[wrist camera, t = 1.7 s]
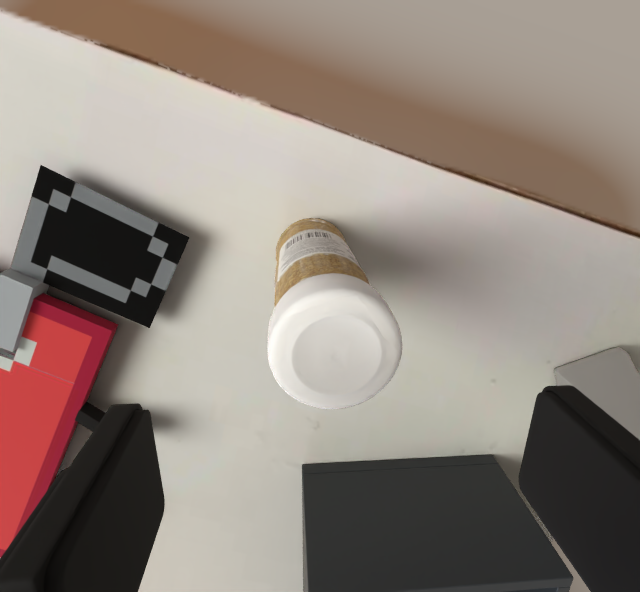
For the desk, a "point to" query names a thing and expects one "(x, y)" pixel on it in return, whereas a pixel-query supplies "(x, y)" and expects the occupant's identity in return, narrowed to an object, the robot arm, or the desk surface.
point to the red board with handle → (66, 325)
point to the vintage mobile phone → (607, 384)
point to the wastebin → (422, 529)
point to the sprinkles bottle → (328, 321)
